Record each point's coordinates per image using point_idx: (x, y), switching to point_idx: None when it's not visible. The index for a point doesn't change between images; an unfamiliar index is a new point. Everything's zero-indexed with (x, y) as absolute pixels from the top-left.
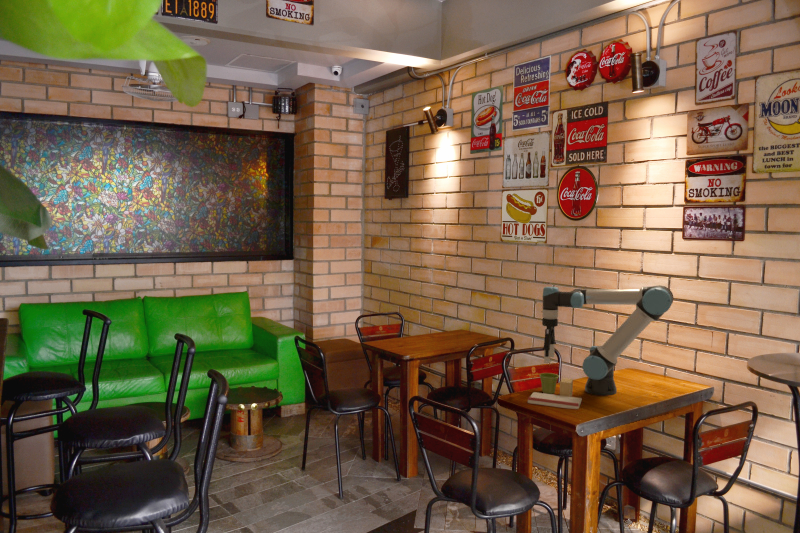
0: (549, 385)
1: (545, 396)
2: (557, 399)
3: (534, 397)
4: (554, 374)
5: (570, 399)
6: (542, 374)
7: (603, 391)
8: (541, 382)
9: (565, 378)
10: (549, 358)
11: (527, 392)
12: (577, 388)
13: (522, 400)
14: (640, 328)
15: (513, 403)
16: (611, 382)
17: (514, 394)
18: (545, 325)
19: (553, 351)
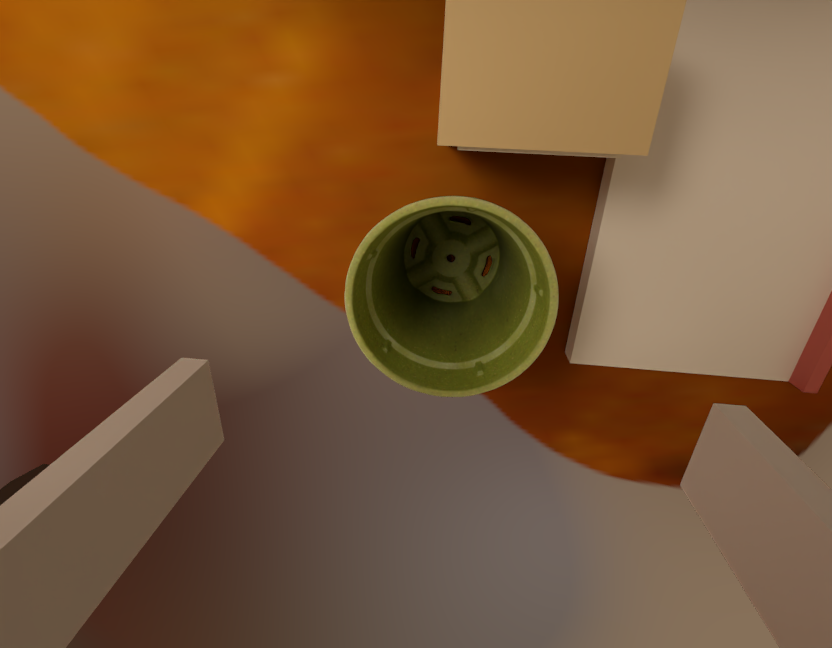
0: (518, 266)
1: (681, 267)
2: (766, 155)
3: (728, 344)
4: (364, 253)
5: (750, 18)
6: (396, 368)
7: None
8: (474, 342)
9: (452, 103)
10: (817, 483)
11: (511, 392)
12: (212, 7)
13: None
14: None
15: (806, 448)
16: None
17: (586, 457)
18: None
19: (128, 446)
